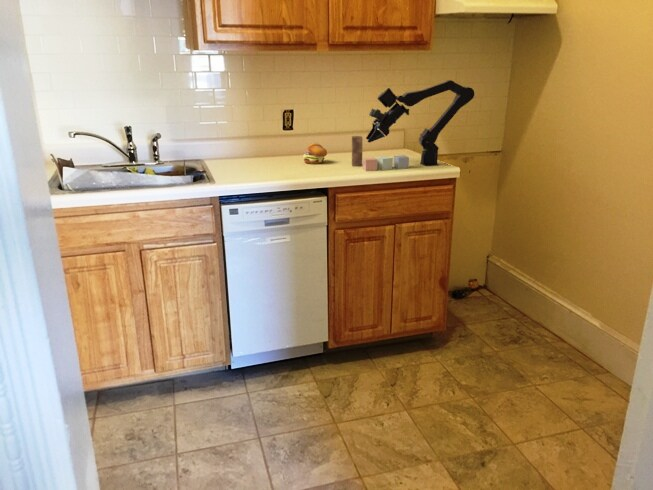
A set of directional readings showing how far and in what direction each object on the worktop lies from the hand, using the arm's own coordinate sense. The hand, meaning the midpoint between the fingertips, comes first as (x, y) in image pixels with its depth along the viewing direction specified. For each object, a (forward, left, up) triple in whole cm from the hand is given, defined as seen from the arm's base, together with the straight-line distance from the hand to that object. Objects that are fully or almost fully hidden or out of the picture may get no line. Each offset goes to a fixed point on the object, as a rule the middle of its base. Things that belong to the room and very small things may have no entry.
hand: (367, 140), depth 247 cm
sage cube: (-4, +10, -11) cm, 16 cm away
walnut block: (+5, -1, -11) cm, 12 cm away
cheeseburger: (+21, -14, -11) cm, 28 cm away
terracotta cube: (+3, +10, -11) cm, 15 cm away
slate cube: (-12, +10, -11) cm, 19 cm away
